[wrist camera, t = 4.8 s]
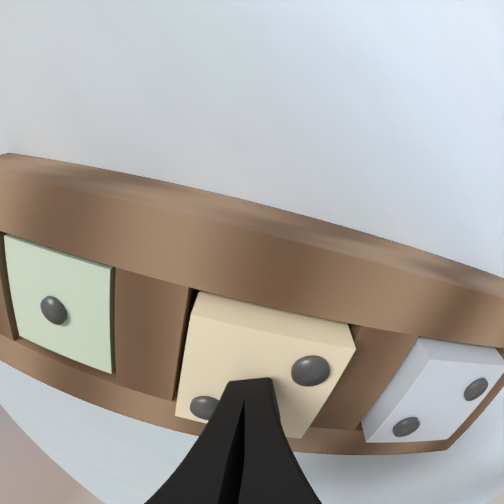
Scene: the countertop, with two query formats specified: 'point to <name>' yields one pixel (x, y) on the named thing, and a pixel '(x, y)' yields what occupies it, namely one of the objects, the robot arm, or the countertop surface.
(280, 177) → the countertop surface
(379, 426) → the button two
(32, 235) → the frame
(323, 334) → the button three
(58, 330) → the button one
